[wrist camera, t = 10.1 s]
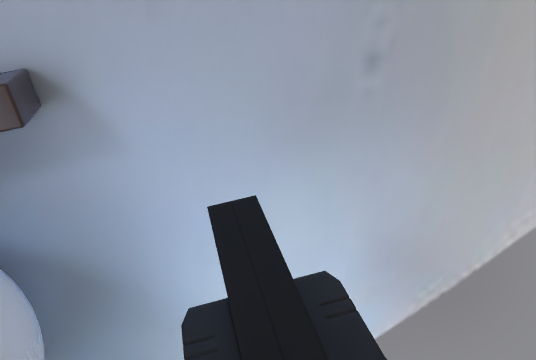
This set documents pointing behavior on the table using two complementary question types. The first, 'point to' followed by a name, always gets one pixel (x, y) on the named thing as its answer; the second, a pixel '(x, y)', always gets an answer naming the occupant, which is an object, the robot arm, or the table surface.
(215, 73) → the table surface
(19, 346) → the trinket box
